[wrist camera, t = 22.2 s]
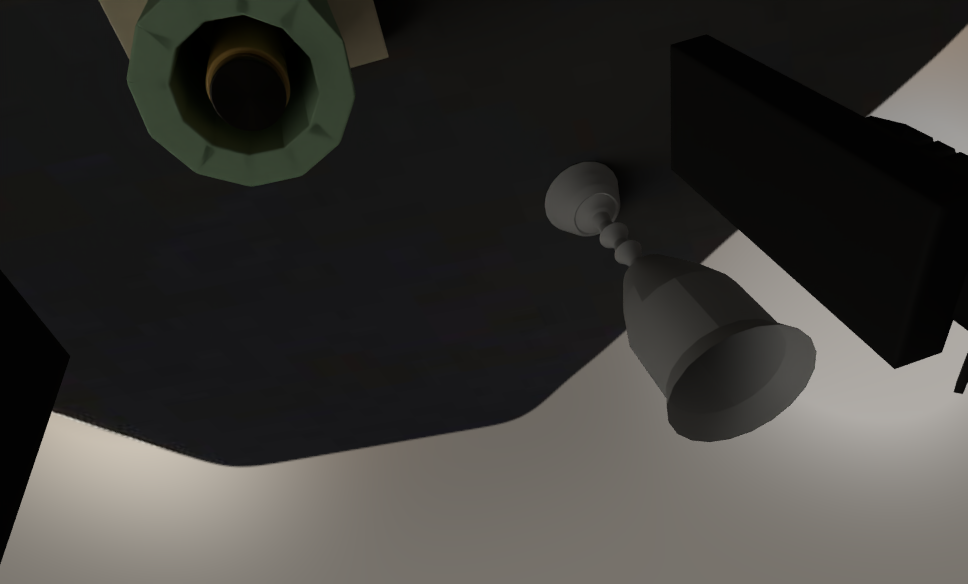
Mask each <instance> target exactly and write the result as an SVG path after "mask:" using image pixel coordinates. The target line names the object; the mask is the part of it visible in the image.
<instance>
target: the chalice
mask: <svg viewBox="0 0 968 584" xmlns="http://www.w3.org/2000/svg"><path fill="white" fill-rule="evenodd" d="M619 209H620V197H619V190H618V181H617V179H616V177H615V175H614V173H613V171H612V170H611V169H609V168H608V167H607V166H606V165H604V164H601V163H598V162H582V163H579V164H576V165H573V166H571V167H569V168H567V169H566V170H564V171H563V172H561V173H560V174H559V175H558V177H557V178H556V179H555V180H554V181H553V182H552V184H551V186H550V188H549V190H548V192H547V194H546V200H545V210H546V215H547V217H548V218H549V220H550V222H551V223H552V224H553V225H554V226H556V227H557V228H559V229H560V230H564V231H568V232H570V233H574V234H576V235H580V236H593V235H596V234H599V233H601V234H600V243H601V244H602V245H603V246H604V247H606V248H615V259H616V261H617V262H619V263H621V264H626V265H628V266H629V268H628V270H627V271H626V273H625V276H624V280H623V311H624V318H625V324H626V329H627V334H628V339H629V343H630V347H631V349H632V350H633V351H634V353H635V354H636V356H637V357H638V359H639V360H640V361H641V363H642V364H643V366H644V367H645V369H646V370H647V371H648V373H649V374H650V376H651V377H652V378H653V380H654V381H655V383H656V384H657V385H658V387H659V388H660V390H661V391H662V392H663V394H664V395H665V397H666V398H667V412H668V421H669V423H670V424H671V426H672V427H673V428H674V430H675V431H676V432H677V433H678V434H679V435H682V436H684V437H686V438H688V439H690V440H694V441H704V442H713V441H720V440H726V439H731V438H734V437H737V436H740V435H742V434H745V433H748V432H751V431H753V430H755V429H757V428H758V427H760V426H762V425H764V424H765V423H767V422H769V421H771V420H772V419H774V418H775V417H776V416H777V415H779V414H780V413H781V412H782V411H784V410H785V409H786V408H787V407H789V406H790V405H791V404H792V403H793V401H794V400H795V399H796V398H797V397H798V396H799V394H800V393H801V392H802V391H803V390H804V388H805V387H806V385H807V383H808V381H809V379H810V377H811V375H812V373H813V371H814V369H815V360H816V350H815V347H814V345H813V342H812V340H811V338H810V337H809V336H808V335H806V334H805V333H804V332H802V331H801V330H799V329H798V328H794V327H791V326H787V325H784V324H780V323H777V322H776V321H775V320H774V319H773V318H772V317H771V316H770V315H769V314H768V313H767V312H766V311H765V310H764V309H763V308H762V307H761V306H760V305H759V304H758V303H757V302H756V301H755V300H754V299H753V298H752V297H751V296H750V295H749V294H748V293H746V291H745V290H744V289H743V288H742V287H740V285H739V284H737V283H736V282H735V281H734V280H732V279H731V278H730V277H729V276H727V275H726V274H723V273H721V272H719V271H716V270H714V269H711V268H709V267H706V266H704V265H701V264H699V263H695V262H691V261H687V260H683V259H678V258H674V257H669V256H664V255H660V254H650V255H647V256H644V257H643V255H642V253H641V250H642V249H641V245H640V243H639V242H637V241H634V240H628V239H627V236H628V228H627V227H626V225H624V224H623V223H613V222H614V221H615V219H616V217H617V215H618V213H619Z"/></svg>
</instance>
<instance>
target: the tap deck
mask: <svg viewBox="0 0 968 584" xmlns="http://www.w3.org/2000/svg"><path fill="white" fill-rule="evenodd" d="M147 1H148V0H99V2H100V4H101V6H102V8H103V10H104V12H105V14H106V15H107V17H108V19H109V21H110V23H111V25H112V27H113V29H114V31H115V33H116V35H117V37H118V39H119V40H120V42H121V44H122V46H123V48H124V50H125V52H126V54H127V56H128V58H129V60H130V55H131V49H132V43H133V37H134V31H135V26H136V24H137V21H138V19H139V17H140V15H141V13H142V11H143V9H144V7H145V5H146V3H147ZM327 2H328V4H329V7H330V9H331V11H332V14H333V16H334V19H335V21H336V24H337V26H338V28H339V31H340V33H341V36H342V38H343V41H344V43H345V47H346V52H347V56H348V61H349V65H350V68H353V67H356V66H360V65H363V64H367V63H370V62H374V61H377V60H381V59H384V58H388V57H389V56H388V52H387V48H386V45H385V41H384V37H383V34H382V30H381V26H380V23H379V19H378V16H377V12H376V8H375V5H374V1H373V0H327ZM213 27H214V20H211V21H205V22H204V23H203V24H202V25H201V26H200V27H199V28H198V32H199V35H200V38H201V39H202V40H203V41H204V42H205V43H206V44H207V45H209V46H210V47H211V40H212V33H213ZM281 31H282V37H283V44H284V50H285V52H286V51H287V50H289V49H290V48H291V47H292V46H293V45H294V40H293V39H292V38H291V37H290V36H289V35H288V34H287V33H286V32H285V31H284V29H282V28H281Z"/></svg>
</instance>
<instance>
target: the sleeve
mask: <svg viewBox="0 0 968 584" xmlns="http://www.w3.org/2000/svg"><path fill="white" fill-rule="evenodd" d="M240 15H246V16H248V17H251V18H254V19H257V20H260V21H263V22H265V23H268V24H271V25H274V26H277V27H280V28H282V29H284V31H285V32H286V33H287V34H288V35H289V36H290V37H291V38H292V39H293V40H294V45H293V46H292V47H291V48H290V49H289V50H287V51H286V52H285V57H286V63H287V70H288V76H289V83H290V97H289V101H288V104H287V106H286V108H285V110H284V113H283V114H282V116H281V117H280V119H279V120H278V121H277V122H276V123H275V124H273V125H272V126H270V127H268V128H265V129H263V130H258V131H246V130H241V129H238V128H235V127H233V126H231V125H229V124H228V123H226V122H225V121H224V120H223V119H222V118H221V117H220V116H219V115H218V114H217V112H216V111H215V109H214V107H213V105H212V103H211V101H210V99H209V97H208V94H207V90H206V74H207V67H208V60H209V53H210V46H209V45H207V44H206V43H205V42H204V41H203V40H202V39H201V38H200V35H199V32H198V28H199V27H200V26H201V25H202V24H203V23H204V22H205V21H211V20H217V19H222V18H228V17H234V16H240ZM127 84H128V86H129V88H130V91H131V93H132V95H133V98H134V100H135V102H136V105H137V107H138V109H139V112H140V114H141V116H142V119H143V121H144V123H145V125H146V128H147V130H148V132H149V134H150V135H151V136H152V138H153V139H155V140H156V141H157V142H158V143H160V144H161V145H162V146H163V147H165V148H166V149H167V150H168V151H169V152H171V153H172V154H173V155H174V156H176V157H177V158H178V159H179V160H181V161H182V162H183V163H184V164H185V165H187V166H188V167H189V168H190V169H192V170H193V171H194V172H197V173H198V174H201V175H205V176H209V177H213V178H218V179H222V180H226V181H230V182H234V183H238V184H242V185H246V186H252V187H253V186H257V185H262V184H267V183H271V182H276V181H281V180H285V179H290V178H294V177H299V176H302V175H304V174H305V173H306V172H307V171H309V170H310V169H311V168H312V167H313V166H314V165H315V164H317V163H318V162H319V161H320V160H321V159H322V158H324V157H325V156H326V155H327V154H328V153H329V152H331V151H332V150H333V149H334V148H335V147H336V146H337V145H339V143H340V142H341V139H342V136H343V133H344V130H345V127H346V124H347V121H348V118H349V115H350V112H351V109H352V106H353V103H354V100H355V97H356V96H355V88H354V83H353V79H352V74H351V70H350V65H349V61H348V56H347V52H346V47H345V43H344V41H343V38H342V36H341V33H340V31H339V28H338V26H337V24H336V21H335V19H334V16H333V14H332V11H331V9H330V7H329V4H328V2H327V0H148V1H147V3H146V5H145V7H144V9H143V11H142V13H141V15H140V17H139V19H138V21H137V24H136V26H135V31H134V37H133V43H132V49H131V55H130V62H129V68H128V74H127Z"/></svg>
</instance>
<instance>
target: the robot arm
mask: <svg viewBox="0 0 968 584" xmlns="http://www.w3.org/2000/svg"><path fill="white" fill-rule="evenodd" d="M671 168H672V170H673V171H674V172H675V173H676V174H677V175H679V176H680V177H681V178H682V179H683V180H684V181H685V182H686V183H687V184H689V185H690V186H691V187H692V188H693V189H694V190H695V191H696V192H697V193H699V194H700V195H701V196H702V197H703V198H704V199H705V200H706V201H708V202H709V203H710V204H711V205H712V206H713V207H714V208H715V209H716V210H718V211H719V212H720V213H721V214H722V215H723V216H724V217H725V218H727V219H728V220H729V221H730V222H731V223H732V224H733V225H734V226H735V227H737V228H738V229H739V230H740V231H741V232H742V233H743V234H744V235H745V236H747V237H748V238H749V239H750V240H751V241H752V242H753V243H754V244H756V245H757V246H758V247H759V248H760V249H761V250H762V251H763V252H765V253H766V254H767V255H768V256H769V257H770V258H771V259H772V260H773V261H775V262H776V263H777V264H778V265H779V266H780V267H781V268H782V269H783V270H785V271H786V272H787V273H788V274H789V275H790V276H791V277H792V278H793V279H795V280H796V281H797V282H798V283H799V284H800V285H801V286H803V287H804V288H805V289H806V290H807V291H808V292H809V293H810V294H811V295H812V296H814V297H815V298H816V299H817V300H818V301H819V302H820V303H821V304H823V305H824V306H825V307H826V308H827V309H828V310H829V311H831V313H833V314H834V315H835V316H836V317H837V318H838V319H839V320H840V321H842V322H843V323H844V324H845V325H846V326H847V327H848V328H849V329H850V330H852V331H853V332H854V333H855V334H856V335H857V336H858V337H859V338H861V339H862V340H863V341H864V342H865V343H866V344H867V345H868V346H870V347H871V348H872V349H873V350H874V351H875V352H876V353H877V354H878V355H879V356H881V357H882V358H883V359H884V360H885V361H886V362H887V363H888V364H890V365H891V366H892V367H893V368H894V369H896V368H899V367H902V366H905V365H908V364H910V363H913V362H916V361H919V360H921V359H925V358H927V357H930V356H933V355H936V354H939V353H941V352H942V350H943V348H944V345H945V342H946V339H947V336H948V333H949V330H950V328H951V325H952V322H953V320H954V321H956V322H957V323H958V324H960V325H961V326H963V327H964V328H965V329H966V330H968V155H966V154H964V153H962V152H959V153H956V152H955V149H954V148H952V147H950V146H948V145H946V144H944V143H942V142H940V141H935V142H934V141H933V138H932V137H930V136H928V135H926V134H924V133H922V132H920V131H918V130H916V129H914V128H912V127H910V126H908V125H906V124H902V123H898V122H894V121H890V120H886V119H882V118H878V117H873V116H869V117H866V118H865V117H863V116H861V115H859V114H857V113H855V112H853V111H852V110H850V109H848V108H846V107H844V106H842V105H840V104H838V103H836V102H834V101H832V100H831V99H829V98H827V97H825V96H823V95H821V94H819V93H817V92H815V91H813V90H812V89H810V88H808V87H806V86H804V85H802V84H800V83H798V82H796V81H794V80H793V79H791V78H789V77H787V76H785V75H783V74H781V73H779V72H777V71H775V70H773V69H772V68H770V67H768V66H766V65H764V64H762V63H760V62H758V61H756V60H754V59H753V58H751V57H749V56H747V55H745V54H743V53H741V52H739V51H737V50H735V49H733V48H732V47H730V46H728V45H726V44H724V43H722V42H720V41H718V40H716V39H714V38H713V37H711V36H709V35H707V34H706V35H703V36H699V37H696V38H693V39H689V40H686V41H682V42H679V43H675V44H672V45H671ZM69 358H70V355H69V354H68V353H67V352H66V351H65V349H64V348H63V347H62V346H61V344H60V343H59V342H58V341H57V339H56V338H55V337H54V336H53V334H52V333H51V332H50V331H49V329H48V328H47V327H46V326H45V324H44V323H43V322H42V321H41V320H40V318H39V317H38V316H37V315H36V313H35V312H34V311H33V310H32V308H31V307H30V306H29V305H28V303H27V302H26V301H25V300H24V298H23V297H22V296H21V295H20V294H19V292H18V291H17V290H16V289H15V287H14V286H13V285H12V284H11V282H10V281H9V280H8V279H7V277H6V276H5V275H4V274H3V272H2V271H1V270H0V564H1V560H2V558H3V555H4V551H5V549H6V546H7V542H8V540H9V537H10V534H11V531H12V528H13V525H14V522H15V519H16V516H17V513H18V510H19V507H20V504H21V501H22V498H23V495H24V492H25V489H26V486H27V483H28V480H29V477H30V474H31V471H32V468H33V465H34V462H35V459H36V456H37V453H38V451H39V448H40V445H41V441H42V438H43V436H44V432H45V430H46V427H47V424H48V421H49V418H50V415H51V412H52V409H53V406H54V403H55V400H56V397H57V394H58V391H59V388H60V385H61V382H62V379H63V376H64V373H65V370H66V367H67V364H68V361H69ZM967 383H968V353H967V356H966V359H965V361H964V364H963V366H962V369H961V372H960V374H959V377H958V379H957V382H956V386H955V389H954V392H955V393H961V394H963V392H964V390H965V387H966V385H967Z"/></svg>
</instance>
